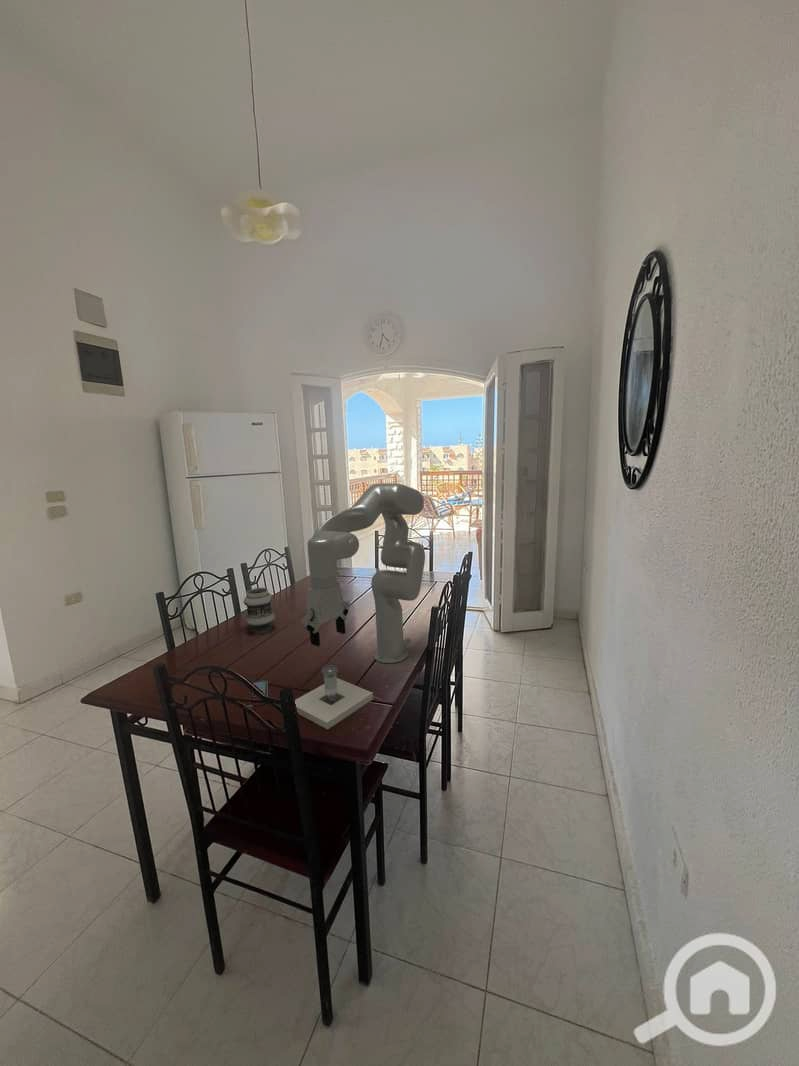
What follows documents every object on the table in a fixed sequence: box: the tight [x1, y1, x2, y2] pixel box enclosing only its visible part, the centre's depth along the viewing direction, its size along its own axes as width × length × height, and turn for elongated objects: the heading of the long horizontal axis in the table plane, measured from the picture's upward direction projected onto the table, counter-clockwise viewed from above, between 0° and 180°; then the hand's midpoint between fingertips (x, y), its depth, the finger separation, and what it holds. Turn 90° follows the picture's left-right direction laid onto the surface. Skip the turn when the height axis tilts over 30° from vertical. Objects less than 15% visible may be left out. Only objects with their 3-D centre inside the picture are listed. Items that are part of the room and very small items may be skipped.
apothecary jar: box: [243, 587, 276, 636], centre depth 182 cm, size 12×12×18 cm
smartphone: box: [248, 679, 269, 708], centre depth 133 cm, size 7×1×15 cm
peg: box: [321, 664, 339, 705], centre depth 124 cm, size 5×5×11 cm
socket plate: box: [294, 677, 374, 730], centre depth 125 cm, size 18×16×2 cm
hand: (328, 638), depth 122 cm, fingers open, 9 cm apart
